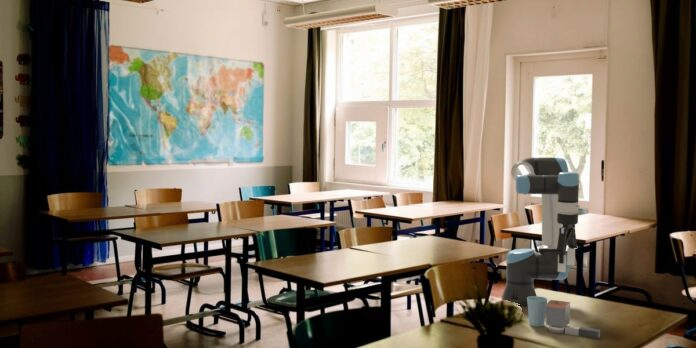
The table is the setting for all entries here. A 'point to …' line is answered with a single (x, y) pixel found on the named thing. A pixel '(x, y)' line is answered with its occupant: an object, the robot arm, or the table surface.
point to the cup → (536, 310)
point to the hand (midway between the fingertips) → (566, 268)
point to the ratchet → (575, 331)
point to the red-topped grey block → (558, 313)
